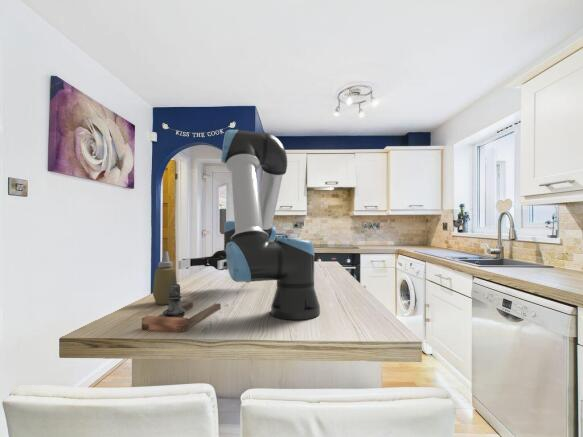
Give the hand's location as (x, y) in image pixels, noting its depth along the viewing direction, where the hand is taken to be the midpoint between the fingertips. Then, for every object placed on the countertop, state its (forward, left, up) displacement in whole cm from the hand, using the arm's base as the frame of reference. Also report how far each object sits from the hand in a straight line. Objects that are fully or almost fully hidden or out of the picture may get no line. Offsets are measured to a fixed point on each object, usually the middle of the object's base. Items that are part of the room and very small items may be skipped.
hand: (198, 265), depth 98 cm
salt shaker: (-1, +15, -14) cm, 21 cm away
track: (-1, +9, -14) cm, 17 cm away
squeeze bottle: (+15, -6, -14) cm, 22 cm away
